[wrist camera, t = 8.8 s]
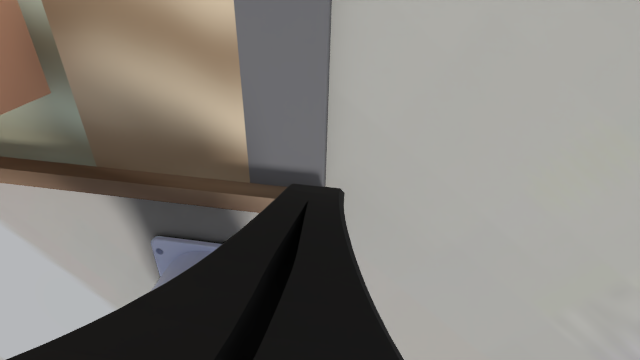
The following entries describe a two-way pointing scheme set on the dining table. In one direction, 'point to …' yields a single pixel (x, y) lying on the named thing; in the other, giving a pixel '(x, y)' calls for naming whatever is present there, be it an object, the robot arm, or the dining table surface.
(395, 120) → the dining table surface
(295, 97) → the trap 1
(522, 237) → the dining table surface
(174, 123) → the dark brown flat frame
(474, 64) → the dining table surface
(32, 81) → the block
